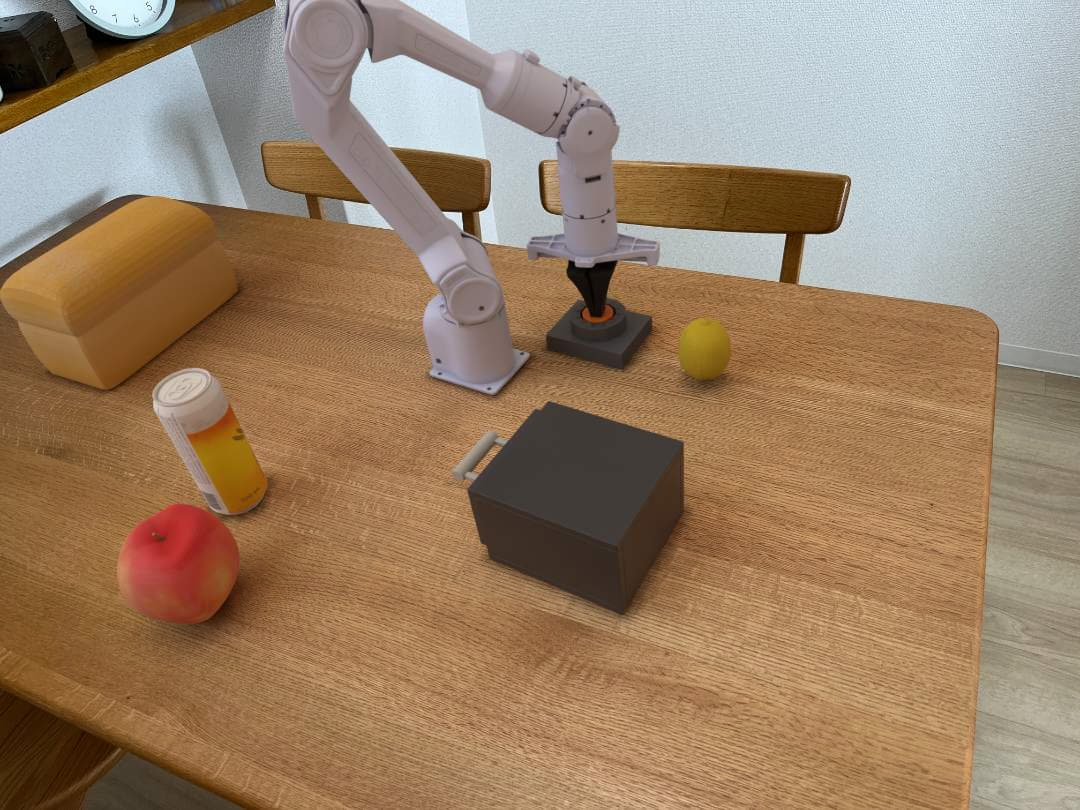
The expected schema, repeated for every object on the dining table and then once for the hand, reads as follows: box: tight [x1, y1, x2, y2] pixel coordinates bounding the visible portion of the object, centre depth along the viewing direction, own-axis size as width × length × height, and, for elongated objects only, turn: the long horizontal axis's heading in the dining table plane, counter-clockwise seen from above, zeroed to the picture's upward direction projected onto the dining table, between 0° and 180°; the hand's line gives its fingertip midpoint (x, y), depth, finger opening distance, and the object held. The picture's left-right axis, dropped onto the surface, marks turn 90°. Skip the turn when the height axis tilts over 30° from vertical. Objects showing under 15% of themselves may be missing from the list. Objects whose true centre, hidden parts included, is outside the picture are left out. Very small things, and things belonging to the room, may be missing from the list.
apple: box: [116, 503, 240, 625], centre depth 70 cm, size 10×10×10 cm
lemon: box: [677, 317, 732, 381], centre depth 86 cm, size 6×6×8 cm
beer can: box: [151, 367, 268, 516], centre depth 79 cm, size 6×6×15 cm
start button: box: [582, 305, 614, 324], centre depth 95 cm, size 4×4×2 cm
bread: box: [0, 195, 239, 391], centre depth 106 cm, size 24×13×15 cm, turn 153°
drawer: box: [450, 408, 541, 546], centre depth 73 cm, size 17×11×7 cm
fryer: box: [473, 400, 685, 616], centre depth 71 cm, size 14×13×9 cm
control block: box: [545, 297, 653, 370], centre depth 95 cm, size 10×8×4 cm
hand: (598, 312), depth 94 cm, fingers closed, pressing on start button
